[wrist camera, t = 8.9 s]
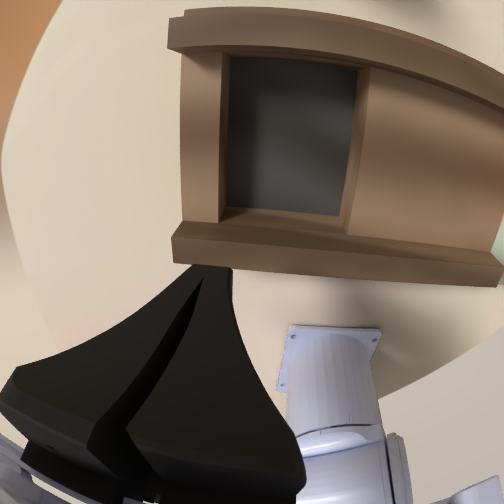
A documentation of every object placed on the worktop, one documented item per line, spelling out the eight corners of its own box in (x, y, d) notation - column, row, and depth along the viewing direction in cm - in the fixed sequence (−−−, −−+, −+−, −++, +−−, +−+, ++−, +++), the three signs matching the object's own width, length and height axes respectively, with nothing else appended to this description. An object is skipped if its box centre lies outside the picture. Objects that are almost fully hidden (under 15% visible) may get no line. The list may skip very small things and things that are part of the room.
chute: (517, 267, 18) (545, 299, 14) (197, 236, 20) (175, 278, 16) (555, 121, 11) (595, 136, 7) (199, 22, 13) (171, -1, 9)
